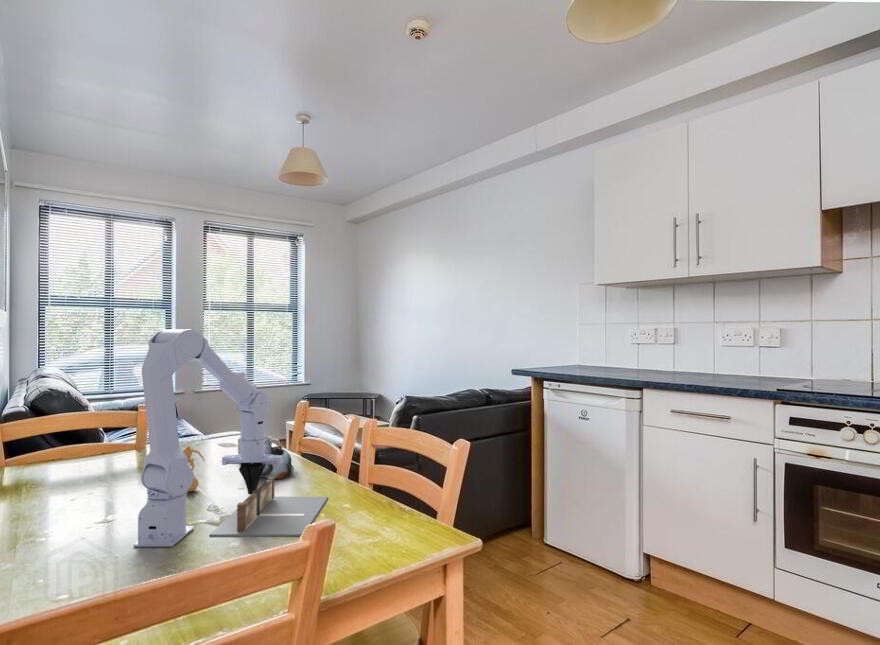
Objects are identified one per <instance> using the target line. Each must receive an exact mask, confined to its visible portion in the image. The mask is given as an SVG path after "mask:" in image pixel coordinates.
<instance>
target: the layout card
mask: <svg viewBox="0 0 880 645" xmlns="http://www.w3.org/2000/svg"><path fill="white" fill-rule="evenodd" d="M328 498H329V496H274V498H273V499H272V500H271V501H270V502H269V503H268V504H267V505H266V506H265V507H264V508H263V509H262V510H261V511H260V515H259V516H257V517H256V518H255V519H254V520H253V521H252V522H251V523H250V524H249V525H248V526H247V527H246V529H245V530H244V532H237V509H235V510H234V511H233V512H232V513H231V514H230V515H229V516H228V517H227V518H226V519H224V520H223V521H222V522H221V523H220V524H219V525H218V526H217V527H216V528H215V529H214V530H212V531H211V532H210V533H209V534H208V536H209V537H302V536H301V535H302V532H303V530H304V529H305V527H306V526H307V525H309V524H311V523H312V524H313V522H314V520H315V519H316V517H317V516H318V514H319V513H320V512H321V509H323V507H324V505H325V503H326V502H327V500H328ZM312 524H311V525H312Z"/></svg>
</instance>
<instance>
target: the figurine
mask: <svg viewBox="0 0 880 645" xmlns="http://www.w3.org/2000/svg"><path fill="white" fill-rule="evenodd" d="M181 450H182V451H183V452H184V454H185V455H186V457H187V458H188V464H189V467H190V466H191V467H190V468H191V469H192V471H193V472H194V470H195V467H196V466H195V463H194V458H192V455H193V453H196V454H198V455H199V457H200V458H202V460H203V462H204V463H205V462H206V461H205V458H204V456H203V455H202V453H201V452H200V451H198V450H196V449H194V448H191V446H190V445H188V446H186V447H184V448H183V449H181ZM198 486H199V479H197V477H195V476H194V479H193V483H192V485H191V487H190V488H189V489H188V491H187V493H191V492H193V491H195V490H197V489H198Z"/></svg>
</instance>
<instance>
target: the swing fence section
mask: <svg viewBox="0 0 880 645" xmlns="http://www.w3.org/2000/svg"><path fill="white" fill-rule="evenodd" d="M257 490H260V511H261V510H262V509H263V508H264V507H265V506H266V505H267V504H268V503H269V502H270V501H271V500H272V499H273V498H274V497H275V479H274V477H269V478H267V480H266V481H264V483H262V484H261V485H260V486H259V487H257Z"/></svg>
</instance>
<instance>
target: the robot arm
mask: <svg viewBox="0 0 880 645" xmlns="http://www.w3.org/2000/svg"><path fill="white" fill-rule="evenodd" d="M147 342H148V350H147V352H146V355H145V358H144V361H143V363H142V367H141V377H142V387H143V388H142V389H143V395H144V405H145V414H146V423H147V432H148V441H149V451H150V452H149V453H148V454H146V456H145V457H144V458H143V469H142V472H141V475H140V481H141V484H142V486H143V487H144V488H146V494H147V498H146V499H147V501H146V503H145V505H144V506H143V507H142V508H141V509H140V511H139V513H138V516H137V540H136V542H134V543H133V547H139V548H140V547H153V548H154V547H156V548H157V547H158V548H159V547H173V546H174V545H176V544H177V543H178V542H179V541H180V540H182V539H183V538H184V537H185V536H186V535H188V534H189V533H190V532H192V531H193V530H194V528H195V526H193V525H187V495H188V492H187V491H188V489H189V488H190V487H191V485H192V483H193V479H194V477H195V475H194V470H193V471H192V469H191V468H192V467H190V463H188V458H187V457H186V455H185V454H184V452H183V451H182V450H183V449H181V446H180V438H179V437H180V436H179V430H178V428H179V427H178V420H177V419H178V418H177V417H178V416H177V409H176V400H175V392H174V389H175V388H174V380H173V376H174V374H175V373H176V372H177V371H178V369H180V368H181V367H182V366H184V365H185V364H187V363H189V362H190V361H195V362H197V364H199V365H200V366H201V367H202V368H204V369H205V370H206V371H207V372H208V373H209V374H211V375H212V376H213V377H215V379H217V380H218V381H219V383H218V386H219V389H220V390H221V391H222V392H223V393H225V395H227V396H228V397H229V398H230V399H231V400H232V401H233V402H234V407H235V409H236V411H239V412H240V438H241V453H240V455H238V454H231V455H230V454H228V455H224V456H222V457H221V465H222V466H227V465H240V466H239V468H238V471H239V472H240V474H241V476H242V478H243V481H244V482H245V486H246V489H247V494H248V495H251V494H253V491H255V490H257V489H258V486H259V482H260V479H261V474H262V472H263V469H264V468H265V465H266V464H276V465H281V464H282V463H283V455H270V454H265V436H266V419H267V414H268V411H269V409H270V408H271V401H270V399H269V397H268V395H267V394H266V393H265V392H263V391H259V390H258V388H257V386H256V385H255V384H252V382H250V380H248V379H247V378H246V373H245V372H243V371H239V370H231V369H230V367H229V366H228V365H227V364H226V363H225V362H224V361H223V360H222V358H221V357H220V356H219V355H218V354H217V353H216V352H215V350H214V349H213V348H212V346H210V344H209V340H208V339H207V338H206V337H204V336H203V335H202V334H201V333H200V332H199V331H198V330H196V329H194V328H193V329H192V328H187V329H170V328H163V329H160V330H159V331H157V332H156V333H155V334H154V335H152V337H150V339H149V340H148V341H147Z"/></svg>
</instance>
